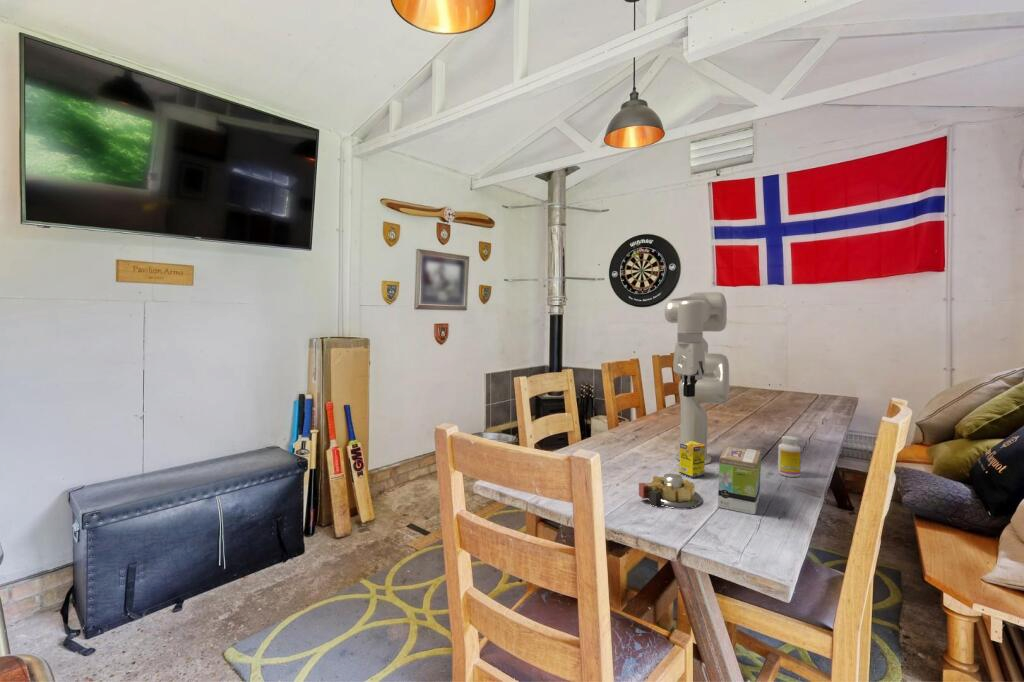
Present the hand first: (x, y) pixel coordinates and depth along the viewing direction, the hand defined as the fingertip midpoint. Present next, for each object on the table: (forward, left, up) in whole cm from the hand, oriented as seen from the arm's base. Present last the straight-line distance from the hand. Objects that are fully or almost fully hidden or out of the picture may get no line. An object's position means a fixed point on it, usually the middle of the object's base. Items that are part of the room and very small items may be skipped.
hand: (689, 396), depth 146 cm
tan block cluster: (+7, -13, -28) cm, 32 cm away
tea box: (+16, +6, -29) cm, 34 cm away
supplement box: (-8, +8, -29) cm, 31 cm away
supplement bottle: (+2, +40, -29) cm, 50 cm away
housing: (+7, -11, -29) cm, 32 cm away
